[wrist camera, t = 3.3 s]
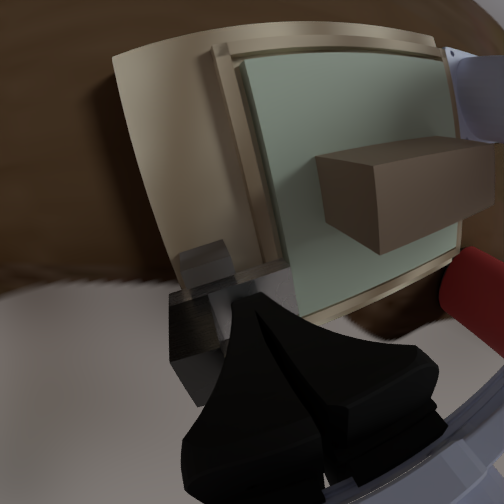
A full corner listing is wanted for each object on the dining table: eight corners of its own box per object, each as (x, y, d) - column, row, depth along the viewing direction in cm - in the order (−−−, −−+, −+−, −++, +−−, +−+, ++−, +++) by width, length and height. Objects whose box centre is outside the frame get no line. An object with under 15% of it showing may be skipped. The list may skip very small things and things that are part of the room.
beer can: (468, 294, 23) (547, 352, 13) (429, 318, 22) (516, 394, 12) (479, 236, 21) (575, 289, 10) (440, 254, 20) (553, 326, 9)
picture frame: (412, 41, 13) (455, 32, 9) (434, 252, 19) (470, 272, 16) (120, 68, 10) (100, 42, 7) (209, 341, 17) (219, 388, 13)
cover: (431, 63, 12) (496, 57, 7) (446, 241, 17) (499, 270, 12) (238, 66, 10) (278, 22, 6) (292, 307, 15) (336, 369, 10)
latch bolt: (281, 257, 12) (327, 308, 8) (291, 302, 13) (331, 360, 9) (168, 293, 12) (169, 362, 8) (188, 336, 13) (197, 407, 9)
